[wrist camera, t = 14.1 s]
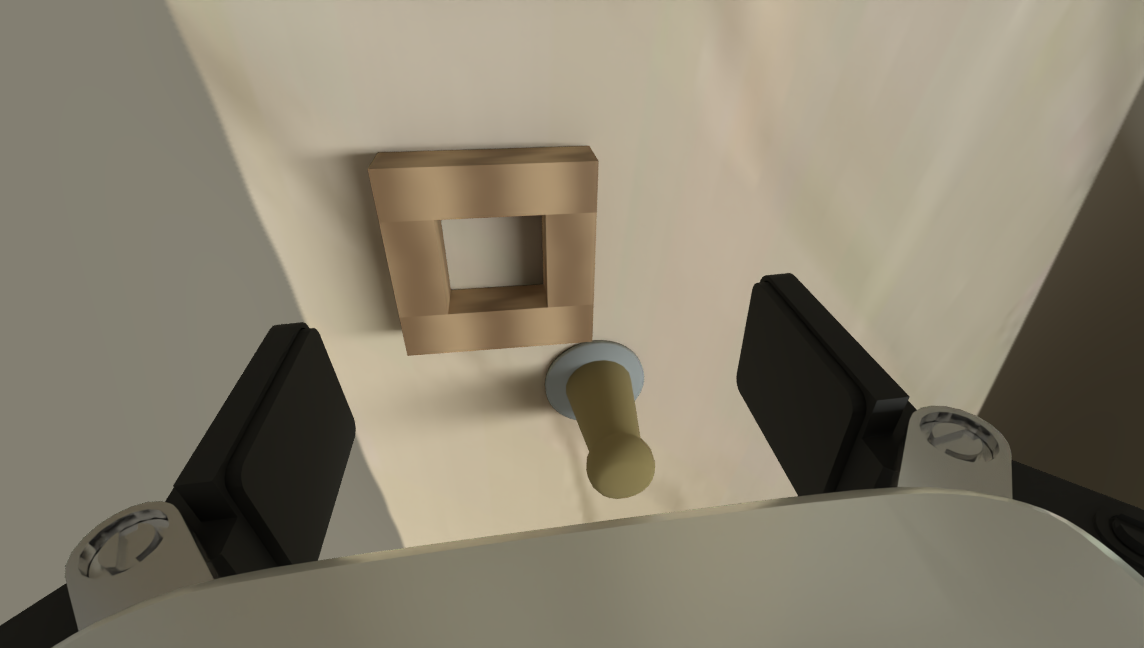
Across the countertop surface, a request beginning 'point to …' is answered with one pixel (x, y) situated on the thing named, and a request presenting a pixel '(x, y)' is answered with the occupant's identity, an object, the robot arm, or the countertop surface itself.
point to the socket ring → (480, 190)
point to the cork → (610, 429)
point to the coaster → (584, 355)
